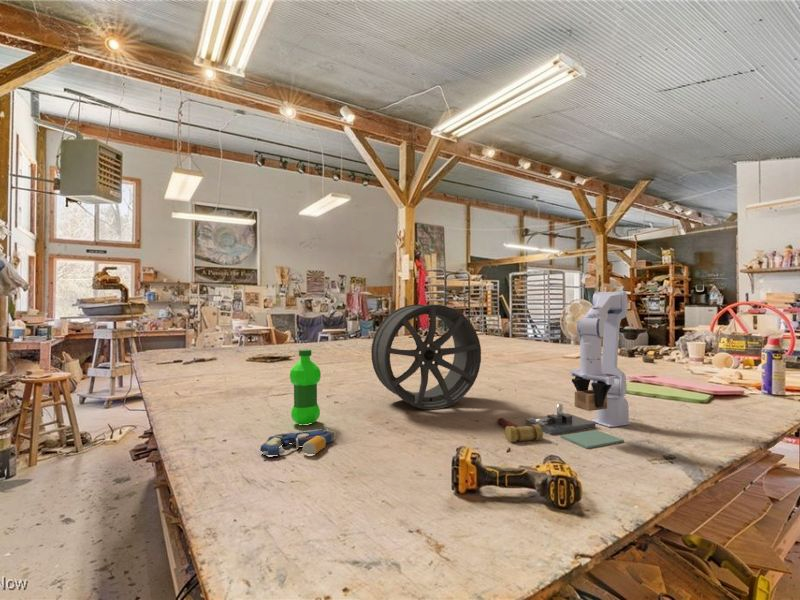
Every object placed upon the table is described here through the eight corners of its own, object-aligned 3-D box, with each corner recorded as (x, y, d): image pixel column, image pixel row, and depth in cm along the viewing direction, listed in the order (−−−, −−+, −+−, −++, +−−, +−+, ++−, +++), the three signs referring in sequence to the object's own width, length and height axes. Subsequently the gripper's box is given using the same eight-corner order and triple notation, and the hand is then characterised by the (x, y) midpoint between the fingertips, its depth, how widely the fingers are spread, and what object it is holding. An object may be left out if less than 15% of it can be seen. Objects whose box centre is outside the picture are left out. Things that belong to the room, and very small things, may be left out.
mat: (596, 431, 126) (595, 429, 126) (623, 442, 117) (623, 439, 117) (560, 437, 121) (560, 435, 121) (586, 448, 112) (586, 446, 112)
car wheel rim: (385, 414, 148) (384, 305, 148) (371, 402, 166) (370, 304, 166) (481, 404, 160) (480, 304, 161) (458, 394, 179) (458, 303, 179)
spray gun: (340, 454, 110) (333, 437, 124) (339, 439, 110) (332, 424, 124) (259, 466, 104) (261, 447, 118) (258, 450, 104) (261, 433, 118)
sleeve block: (592, 404, 123) (592, 389, 123) (607, 408, 118) (606, 393, 118) (574, 406, 120) (574, 391, 120) (588, 411, 116) (588, 395, 116)
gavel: (483, 413, 137) (511, 412, 139) (483, 427, 137) (511, 425, 139) (510, 428, 117) (542, 426, 119) (511, 444, 116) (543, 442, 118)
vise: (567, 417, 142) (567, 397, 142) (595, 427, 130) (595, 406, 130) (524, 424, 135) (523, 403, 135) (549, 435, 124) (549, 412, 124)
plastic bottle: (283, 426, 135) (283, 351, 135) (302, 417, 145) (302, 347, 145) (309, 429, 131) (308, 352, 131) (326, 420, 141) (326, 348, 141)
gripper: (562, 356, 125) (562, 400, 125) (600, 362, 111) (601, 412, 111) (579, 354, 127) (580, 398, 127) (619, 361, 114) (620, 409, 114)
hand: (591, 404), depth 119 cm, fingers closed on sleeve block, 5 cm apart
